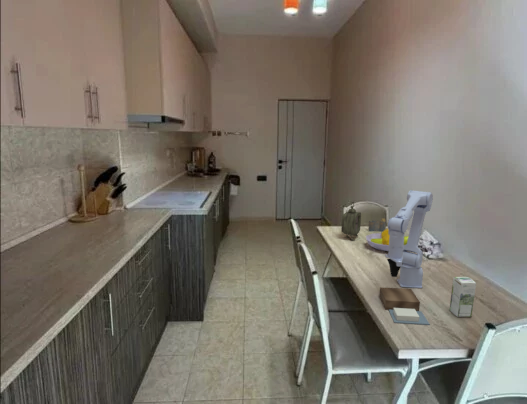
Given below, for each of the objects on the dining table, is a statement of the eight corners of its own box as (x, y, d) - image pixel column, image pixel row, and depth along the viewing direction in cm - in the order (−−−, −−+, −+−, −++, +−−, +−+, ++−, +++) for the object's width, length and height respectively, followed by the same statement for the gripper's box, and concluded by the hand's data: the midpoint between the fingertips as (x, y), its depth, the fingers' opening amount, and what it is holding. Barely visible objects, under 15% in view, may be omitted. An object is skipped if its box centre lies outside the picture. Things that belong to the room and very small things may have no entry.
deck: (410, 297, 151) (411, 288, 150) (419, 311, 139) (419, 302, 139) (379, 296, 153) (379, 287, 152) (385, 309, 141) (385, 300, 140)
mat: (421, 312, 139) (421, 311, 139) (429, 325, 129) (429, 324, 129) (388, 310, 140) (388, 309, 140) (394, 322, 131) (394, 321, 131)
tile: (419, 316, 131) (419, 321, 131) (414, 308, 136) (414, 313, 137) (397, 315, 132) (396, 320, 132) (393, 307, 138) (393, 312, 138)
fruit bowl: (356, 247, 216) (357, 230, 214) (380, 239, 234) (381, 222, 231) (399, 260, 195) (401, 240, 193) (421, 249, 213) (423, 231, 211)
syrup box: (463, 309, 140) (467, 275, 138) (472, 317, 135) (476, 282, 132) (449, 310, 140) (452, 276, 137) (457, 317, 134) (461, 282, 132)
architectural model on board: (384, 230, 255) (385, 217, 253) (385, 232, 252) (386, 218, 250) (368, 230, 255) (369, 217, 253) (369, 231, 252) (370, 218, 250)
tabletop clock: (354, 242, 227) (355, 204, 222) (340, 240, 232) (341, 203, 227) (359, 236, 240) (361, 200, 235) (346, 234, 244) (348, 199, 239)
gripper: (382, 240, 155) (380, 269, 158) (390, 251, 141) (387, 282, 143) (399, 240, 154) (397, 270, 157) (408, 251, 140) (405, 283, 143)
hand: (393, 276), depth 150 cm, fingers closed
